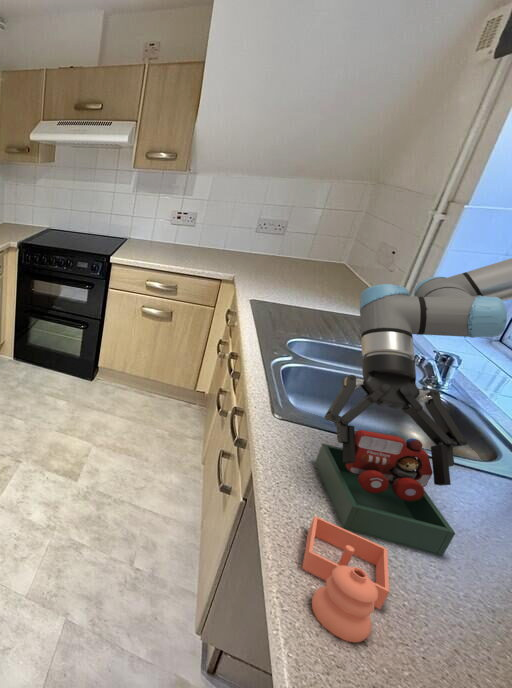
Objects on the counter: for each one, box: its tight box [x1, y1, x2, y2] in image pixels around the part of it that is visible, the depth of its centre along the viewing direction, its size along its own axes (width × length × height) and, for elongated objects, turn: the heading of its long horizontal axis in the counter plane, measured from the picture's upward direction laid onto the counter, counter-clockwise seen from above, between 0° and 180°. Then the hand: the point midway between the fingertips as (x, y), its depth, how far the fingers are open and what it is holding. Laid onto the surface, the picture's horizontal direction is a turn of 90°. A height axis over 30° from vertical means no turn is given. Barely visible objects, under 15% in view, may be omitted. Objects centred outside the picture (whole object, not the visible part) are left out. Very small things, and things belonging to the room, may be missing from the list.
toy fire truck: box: [346, 429, 433, 501], centre depth 75 cm, size 7×12×10 cm, turn 72°
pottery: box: [301, 515, 390, 643], centre depth 61 cm, size 18×10×10 cm, turn 140°
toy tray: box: [314, 443, 456, 557], centre depth 77 cm, size 14×18×6 cm
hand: (394, 473), depth 73 cm, fingers closed on toy fire truck, 12 cm apart
